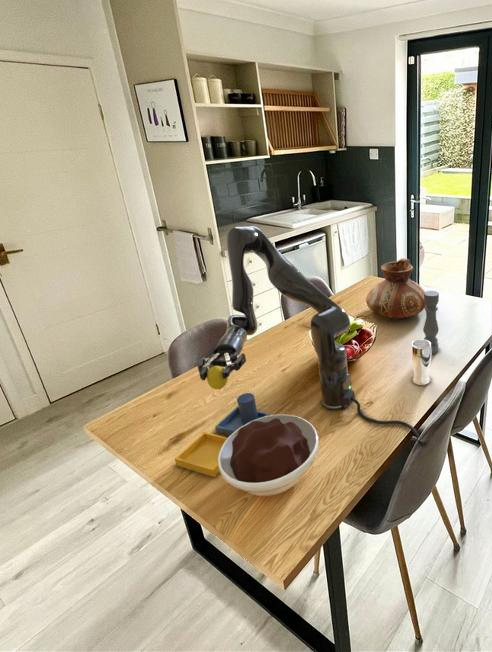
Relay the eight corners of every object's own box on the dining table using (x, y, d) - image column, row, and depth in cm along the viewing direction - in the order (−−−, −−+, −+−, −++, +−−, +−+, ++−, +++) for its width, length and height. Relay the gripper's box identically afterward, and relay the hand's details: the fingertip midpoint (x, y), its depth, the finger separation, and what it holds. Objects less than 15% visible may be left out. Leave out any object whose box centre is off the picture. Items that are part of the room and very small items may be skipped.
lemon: (223, 395, 115) (217, 372, 112) (206, 393, 116) (200, 370, 113) (233, 384, 120) (228, 361, 117) (217, 382, 121) (211, 360, 118)
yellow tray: (242, 447, 114) (240, 441, 113) (214, 477, 105) (212, 470, 104) (206, 437, 119) (204, 431, 118) (176, 465, 109) (174, 458, 108)
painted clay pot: (429, 324, 184) (430, 273, 174) (365, 326, 184) (362, 275, 175) (424, 299, 211) (424, 254, 202) (368, 301, 212) (365, 256, 202)
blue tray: (270, 419, 125) (269, 413, 125) (249, 441, 117) (248, 435, 116) (238, 412, 129) (237, 406, 128) (216, 432, 121) (215, 426, 120)
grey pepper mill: (421, 352, 161) (421, 295, 151) (425, 345, 166) (425, 289, 156) (435, 355, 158) (437, 297, 149) (439, 347, 164) (441, 291, 154)
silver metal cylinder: (433, 377, 144) (434, 340, 138) (427, 387, 138) (427, 350, 132) (415, 373, 147) (415, 337, 141) (408, 383, 141) (408, 346, 135)
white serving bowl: (278, 428, 121) (271, 387, 115) (341, 462, 108) (336, 417, 102) (204, 484, 103) (191, 438, 97) (268, 533, 89) (258, 484, 83)
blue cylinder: (262, 418, 126) (257, 394, 122) (252, 428, 121) (247, 404, 118) (248, 415, 127) (244, 391, 124) (238, 425, 123) (233, 401, 119)
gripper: (204, 338, 127) (184, 367, 111) (250, 335, 128) (236, 364, 112) (209, 359, 130) (190, 389, 114) (253, 355, 131) (241, 386, 115)
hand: (213, 376), depth 113 cm, fingers closed on lemon, 5 cm apart
